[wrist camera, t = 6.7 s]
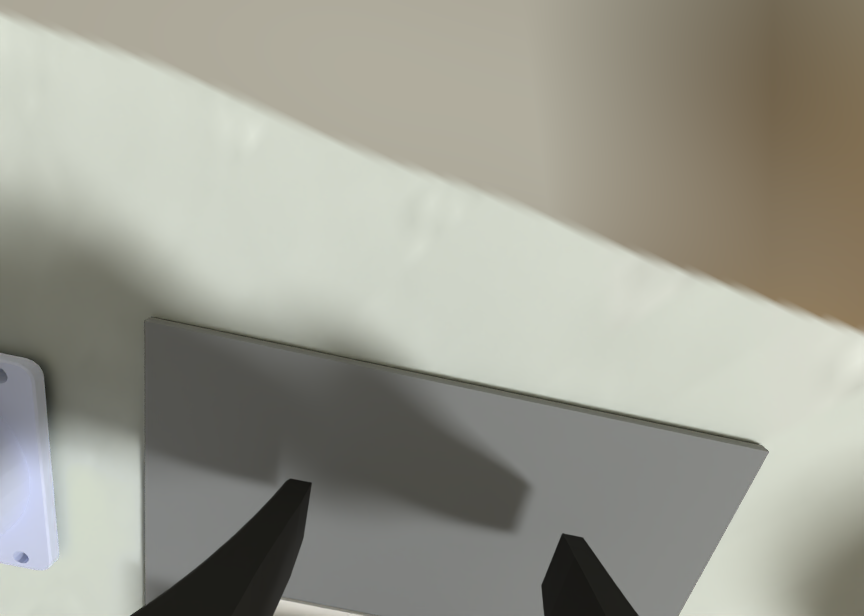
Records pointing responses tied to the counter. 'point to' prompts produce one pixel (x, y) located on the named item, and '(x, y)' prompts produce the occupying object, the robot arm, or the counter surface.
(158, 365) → the mat
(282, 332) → the counter surface
